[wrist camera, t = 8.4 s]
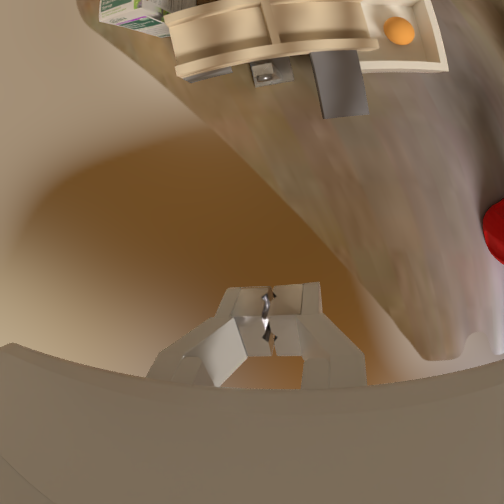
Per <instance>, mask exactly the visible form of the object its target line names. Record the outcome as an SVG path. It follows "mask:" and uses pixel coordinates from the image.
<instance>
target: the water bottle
mask: <svg viewBox="0 0 504 504" xmlns="http://www.w3.org/2000/svg"><path fill="white" fill-rule="evenodd" d="M483 232H484V236H485V242H486V244H487V247H488V249H489V251H490V252H491V254H492V255H493V256H494V257H495V258H496V259H497V260H498V261H499V262H500V263H502V264H504V198H503V199H502V200H501V201H500V202H498V203H496V204H494V205H492V206H491V207H490V209H489V210H488V211H487V212H486V214H485V216H484V218H483Z"/></svg>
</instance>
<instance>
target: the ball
mask: <svg viewBox="0 0 504 504" xmlns="http://www.w3.org/2000/svg"><path fill="white" fill-rule="evenodd" d="M384 33H385V35H386V37H387V38H388V39H389V40H390V41H391V42H393V43H395V44H398V45H407V44H409V43H411V42H412V41H413V39H414V36H415V32H414V28H413V26H412V25H411V24H410V23H409V22H408V21H407V20H406V19H404V18H401V17H391V18H389V19H387V20H386V22H385V23H384Z"/></svg>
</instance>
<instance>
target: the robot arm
mask: <svg viewBox="0 0 504 504" xmlns="http://www.w3.org/2000/svg"><path fill="white" fill-rule="evenodd" d="M273 297H274V299H273ZM273 335H275V338H274V337H273ZM274 345H275V349H276V353H277V356H302V357H303V359H304V361H305V362H304V368H303V376H302V384H301V389H299V390H298V389H295V390H293V389H292V390H291V389H289V390H285V389H284V390H283V389H281V390H280V389H246V388H228V387H219V386H220V385H221V384H222V383H223V382H224V381H225V380H226V379H227V378H228V377H229V376H230V375H231V374H232V373H233V372H234V371H235V370H236V369H237V368H238V367H239V366H240V365H241V364H242V363H243V362H244V361H245V360H246V359H247V356H272V351H273V347H274ZM365 368H366V367H365V357H364V353H363V352H362V351H361V350H360V349H358V347H357V346H356V345H355V344H354V343H353V342H351V340H350V339H349V338H348V337H347V336H346V335H345V334H344V333H343V332H342V331H341V330H339V328H338V327H337V326H336V325H335V324H334V323H333V322H332V321H331V320H330V319H329V318H327V317H326V315H325V314H323V313H322V304H321V292H320V283H319V282H313V283H304V284H295V285H284V286H275V287H274V289H273V292H272V288H271V287H270V286H264V287H263V286H262V287H242V288H241V287H239V288H228V289H227V290H226V292H225V294H224V297H223V299H222V301H221V303H220V305H219V308H218V310H217V312H216V314H215V317H214V318H209V319H207V320H206V321H205V322H203V323H202V324H200V325H199V326H197V327H196V328H195V329H193V330H192V331H190V332H189V333H187V334H186V335H185V336H183V337H182V338H180V339H179V340H177V341H176V342H175V343H173V344H171V345H170V346H169V347H167V348H165V349H164V350H163V351H161V352H160V353H159V354H158V356H157V357H156V359H155V361H154V363H153V365H152V366H151V368H150V370H149V372H148V374H147V376H146V377H145V378H144V377H139V376H133V375H128V374H123V373H118V372H113V371H109V370H104V369H100V368H95V367H91V366H87V365H83V364H79V363H75V362H72V361H68V360H65V359H61V358H58V357H54V356H51V355H48V354H44V353H42V352H39V351H35V350H32V349H30V348H27V347H23V346H21V345H19V344H16V343H9V344H7V345H5V346H3V347H0V504H504V359H503V360H499V361H496V362H493V363H489V364H485V365H482V366H478V367H474V368H470V369H466V370H462V371H457V372H453V373H448V374H443V375H438V376H433V377H427V378H422V379H416V380H409V381H403V382H395V383H388V384H379V385H371V386H367V379H366V369H365Z"/></svg>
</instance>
